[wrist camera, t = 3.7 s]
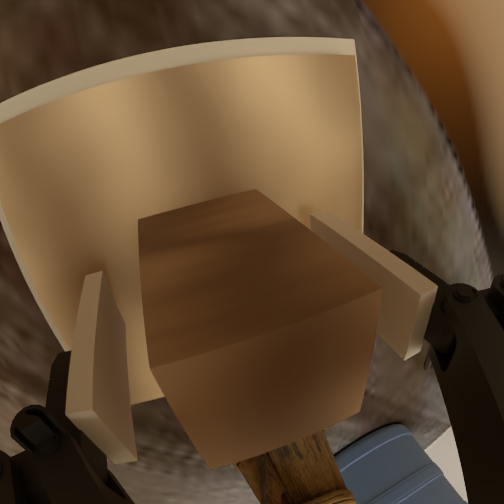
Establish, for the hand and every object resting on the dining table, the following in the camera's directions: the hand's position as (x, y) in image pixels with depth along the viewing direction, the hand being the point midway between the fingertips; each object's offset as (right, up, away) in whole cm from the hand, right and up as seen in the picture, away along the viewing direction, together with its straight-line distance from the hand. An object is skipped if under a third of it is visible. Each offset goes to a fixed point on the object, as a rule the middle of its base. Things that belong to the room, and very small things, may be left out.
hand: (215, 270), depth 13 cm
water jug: (+17, -29, +25) cm, 42 cm away
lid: (-1, +1, +2) cm, 2 cm away
